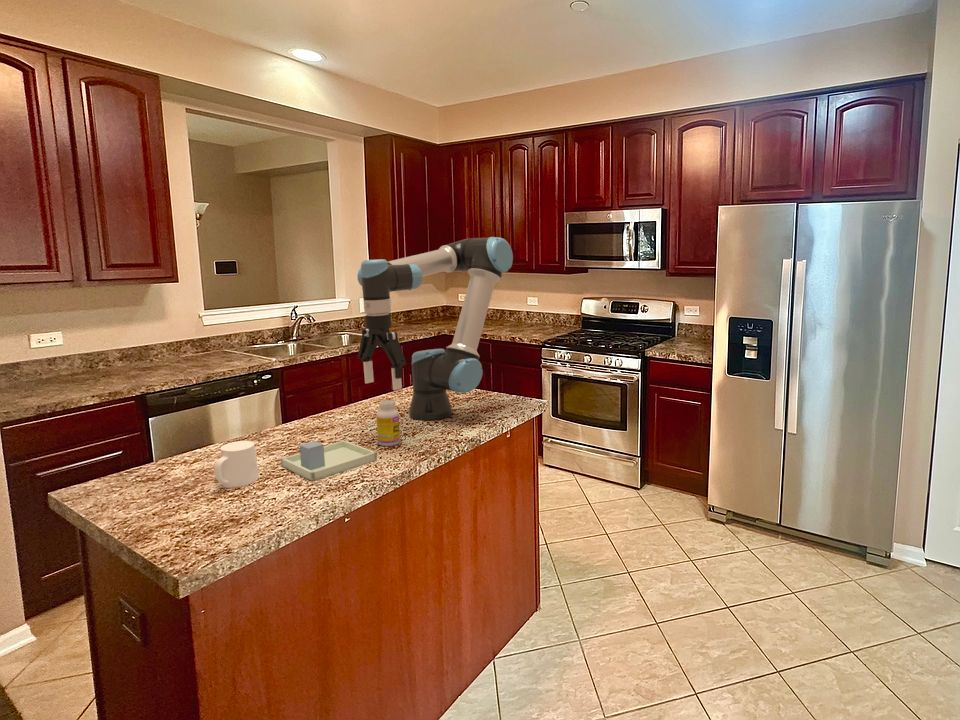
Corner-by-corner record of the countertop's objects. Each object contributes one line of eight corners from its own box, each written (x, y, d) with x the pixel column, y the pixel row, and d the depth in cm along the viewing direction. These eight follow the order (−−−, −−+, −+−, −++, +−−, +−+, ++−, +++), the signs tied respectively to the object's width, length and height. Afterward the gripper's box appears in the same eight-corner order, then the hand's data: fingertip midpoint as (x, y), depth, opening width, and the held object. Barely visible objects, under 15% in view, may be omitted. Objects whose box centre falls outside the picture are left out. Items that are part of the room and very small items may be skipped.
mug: (240, 438, 151) (263, 441, 148) (243, 472, 153) (266, 476, 149) (202, 453, 140) (226, 457, 137) (206, 489, 142) (230, 494, 139)
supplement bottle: (395, 447, 169) (393, 405, 167) (374, 446, 171) (372, 404, 168) (403, 440, 176) (401, 399, 173) (382, 439, 177) (380, 398, 175)
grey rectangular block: (301, 466, 154) (299, 445, 153) (316, 461, 157) (314, 440, 156) (309, 470, 151) (308, 448, 150) (325, 465, 154) (323, 444, 153)
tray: (344, 447, 170) (344, 440, 170) (377, 459, 159) (376, 452, 159) (281, 466, 156) (280, 458, 156) (312, 481, 145) (311, 473, 145)
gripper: (342, 313, 171) (348, 382, 175) (394, 318, 154) (399, 395, 158) (363, 310, 176) (368, 377, 180) (415, 315, 159) (420, 389, 163)
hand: (383, 385), depth 169 cm, fingers open, 13 cm apart
